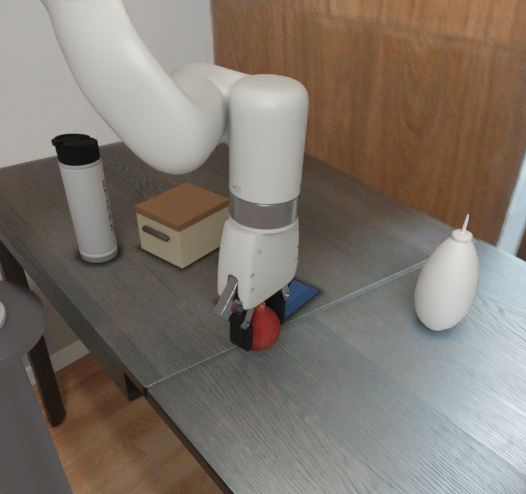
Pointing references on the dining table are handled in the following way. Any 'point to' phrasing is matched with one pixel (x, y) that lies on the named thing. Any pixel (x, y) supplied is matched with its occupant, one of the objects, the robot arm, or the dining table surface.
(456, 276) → the white air blower bulb
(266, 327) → the red pomegranate
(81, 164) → the travel mug
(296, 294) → the cloth
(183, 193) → the bin
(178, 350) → the dining table surface
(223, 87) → the robot arm
